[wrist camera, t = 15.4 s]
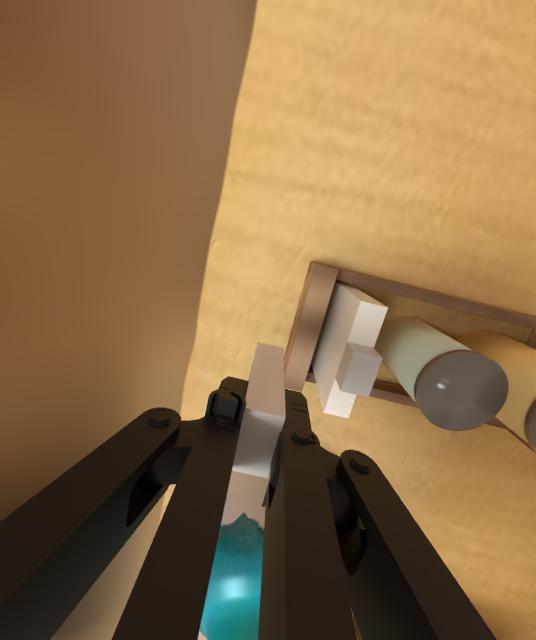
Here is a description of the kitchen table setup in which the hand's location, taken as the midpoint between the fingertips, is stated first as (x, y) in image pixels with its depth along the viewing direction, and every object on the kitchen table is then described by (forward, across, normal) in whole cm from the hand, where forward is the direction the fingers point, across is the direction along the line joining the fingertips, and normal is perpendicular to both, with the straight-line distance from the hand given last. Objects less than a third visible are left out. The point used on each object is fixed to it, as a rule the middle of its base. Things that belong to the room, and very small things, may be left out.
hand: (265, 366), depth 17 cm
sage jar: (+15, -15, 0) cm, 21 cm away
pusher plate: (+15, -7, 0) cm, 16 cm away
